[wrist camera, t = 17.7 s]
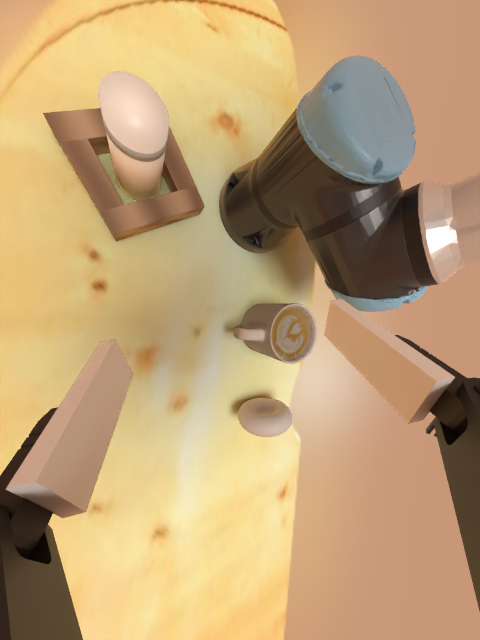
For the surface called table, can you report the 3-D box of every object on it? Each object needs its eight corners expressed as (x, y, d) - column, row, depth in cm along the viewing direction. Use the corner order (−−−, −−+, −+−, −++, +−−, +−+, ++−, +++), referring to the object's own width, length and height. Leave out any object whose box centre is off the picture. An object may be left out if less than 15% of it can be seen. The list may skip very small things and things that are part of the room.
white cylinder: (147, 154, 30) (150, 70, 19) (167, 196, 32) (180, 139, 21) (105, 162, 28) (82, 71, 17) (129, 206, 29) (121, 149, 19)
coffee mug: (284, 308, 44) (321, 309, 35) (276, 353, 43) (311, 365, 34) (230, 295, 38) (257, 292, 29) (220, 347, 37) (245, 360, 28)
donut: (271, 390, 43) (304, 412, 34) (271, 405, 44) (304, 431, 35) (229, 400, 39) (255, 428, 30) (229, 417, 39) (255, 450, 30)
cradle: (157, 121, 30) (159, 103, 28) (199, 213, 34) (204, 206, 31) (53, 133, 25) (43, 113, 22) (116, 241, 29) (113, 234, 26)
